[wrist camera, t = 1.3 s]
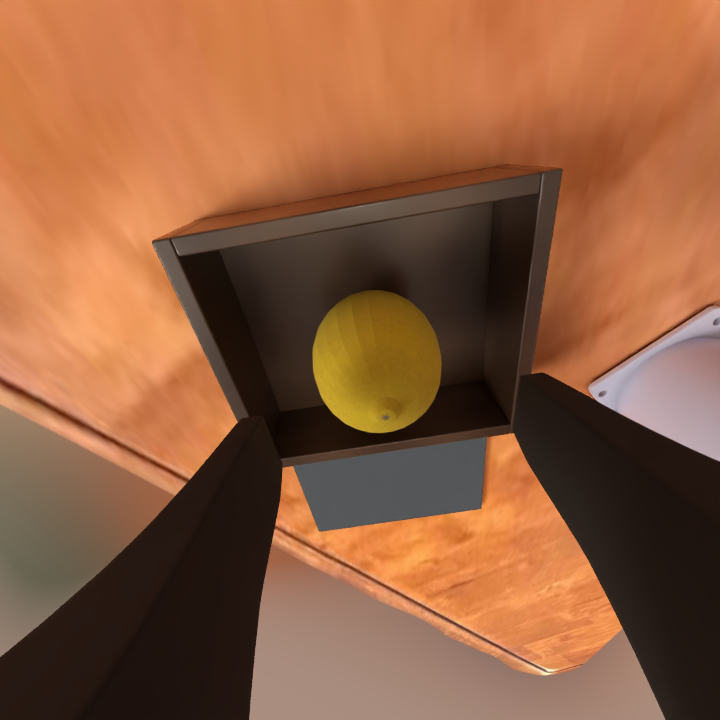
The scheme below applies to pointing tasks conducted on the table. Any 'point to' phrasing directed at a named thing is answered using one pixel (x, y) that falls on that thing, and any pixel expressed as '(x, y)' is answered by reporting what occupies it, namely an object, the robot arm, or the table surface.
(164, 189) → the table surface
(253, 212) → the dark brown shallow box
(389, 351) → the lemon
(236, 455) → the robot arm
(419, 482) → the placemat
